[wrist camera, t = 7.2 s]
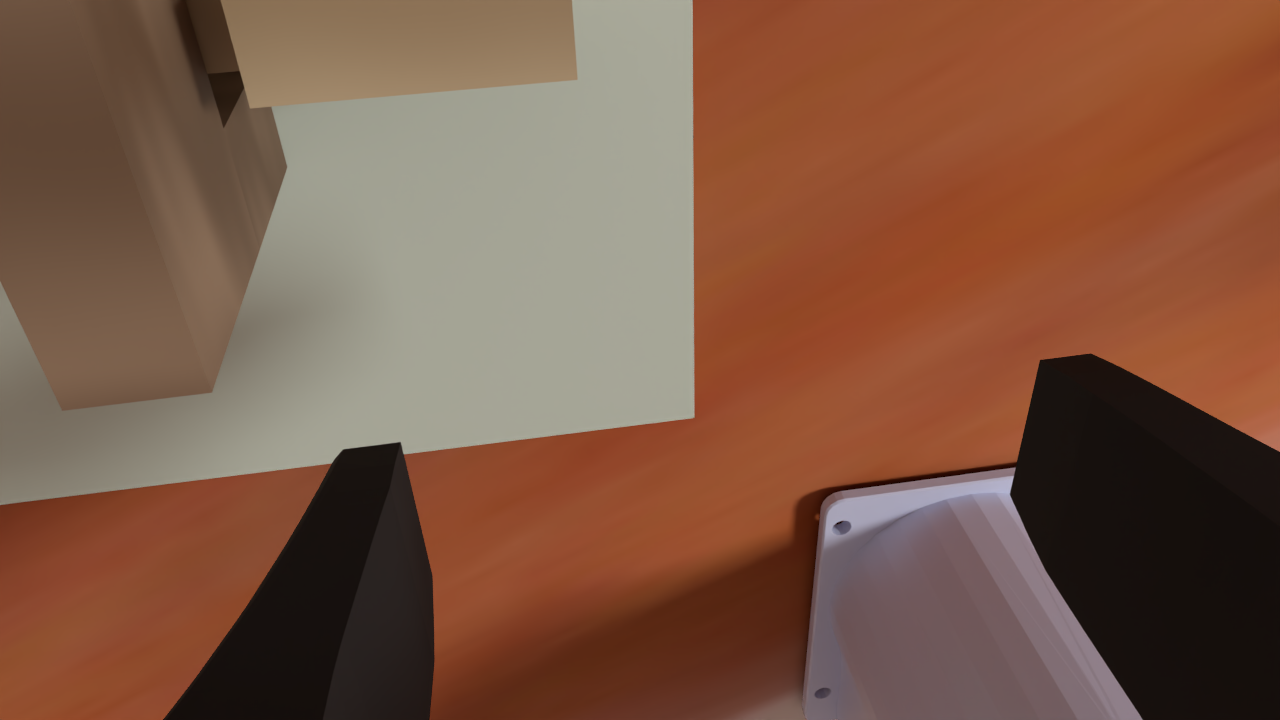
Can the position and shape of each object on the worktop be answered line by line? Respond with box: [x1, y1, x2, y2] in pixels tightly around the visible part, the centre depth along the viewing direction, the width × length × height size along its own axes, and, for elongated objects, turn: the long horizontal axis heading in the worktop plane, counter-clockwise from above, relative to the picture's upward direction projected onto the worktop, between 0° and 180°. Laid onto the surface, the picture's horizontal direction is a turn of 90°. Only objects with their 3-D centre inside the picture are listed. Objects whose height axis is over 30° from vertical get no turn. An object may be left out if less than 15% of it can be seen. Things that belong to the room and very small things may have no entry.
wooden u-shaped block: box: [185, 0, 578, 108], centre depth 14 cm, size 1×12×5 cm, turn 92°
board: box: [0, 0, 694, 505], centre depth 18 cm, size 14×16×1 cm
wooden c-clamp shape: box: [0, 0, 287, 411], centre depth 13 cm, size 7×2×7 cm, turn 3°
